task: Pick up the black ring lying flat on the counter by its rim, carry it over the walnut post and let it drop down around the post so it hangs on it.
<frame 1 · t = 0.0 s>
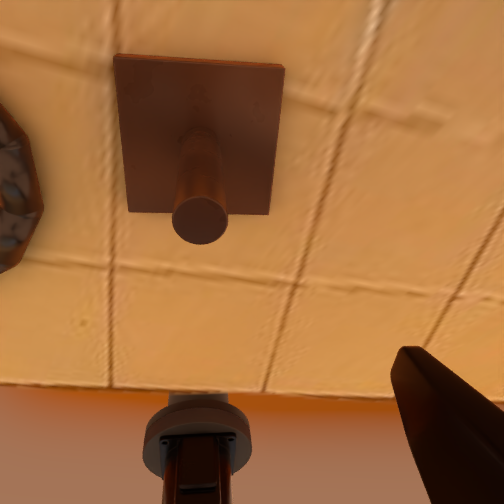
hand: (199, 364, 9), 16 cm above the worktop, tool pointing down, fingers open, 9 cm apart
post: (200, 139, 22), on the worktop
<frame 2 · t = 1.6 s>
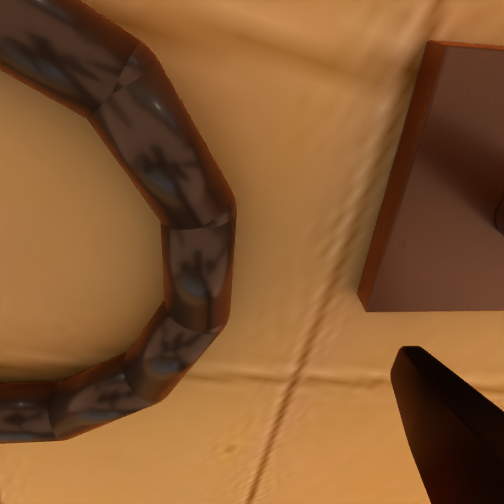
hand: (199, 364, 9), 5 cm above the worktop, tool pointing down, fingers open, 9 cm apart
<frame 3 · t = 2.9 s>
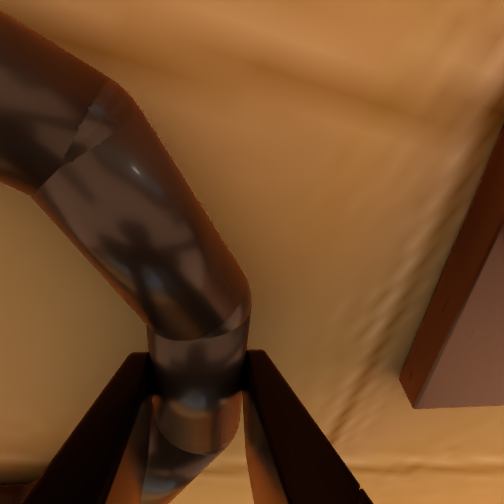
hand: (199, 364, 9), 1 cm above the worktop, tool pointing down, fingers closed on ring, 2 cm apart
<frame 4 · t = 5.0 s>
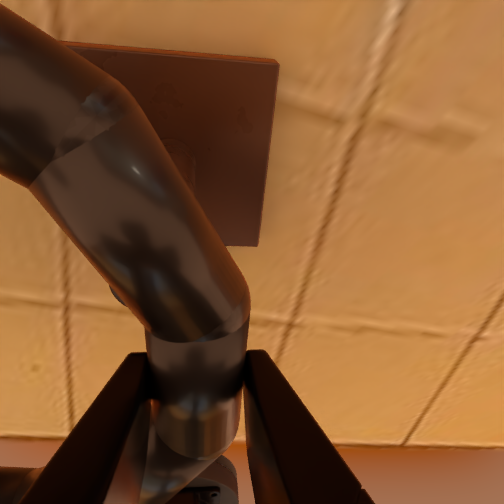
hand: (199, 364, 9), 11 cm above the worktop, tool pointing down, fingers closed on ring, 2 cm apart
post: (172, 153, 17), on the worktop
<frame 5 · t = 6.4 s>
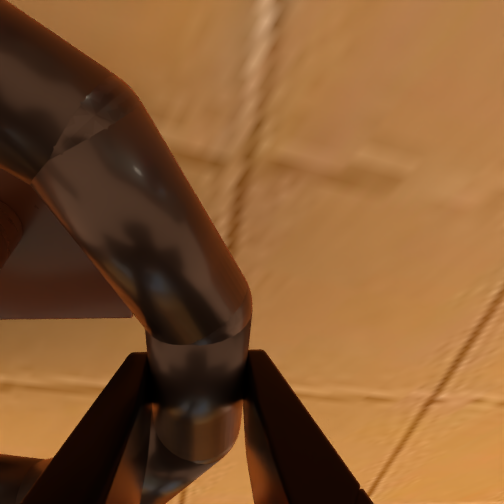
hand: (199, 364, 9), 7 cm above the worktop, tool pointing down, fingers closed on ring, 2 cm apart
post: (1, 208, 13), on the worktop
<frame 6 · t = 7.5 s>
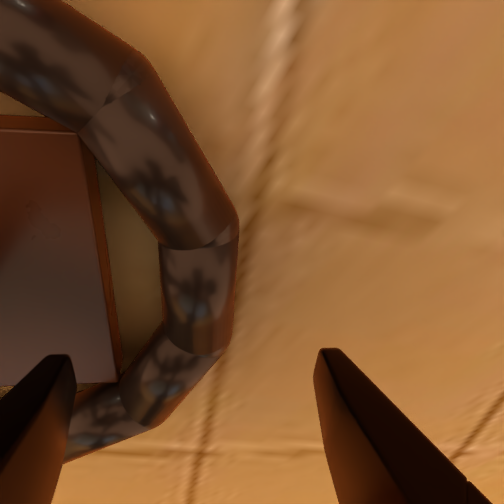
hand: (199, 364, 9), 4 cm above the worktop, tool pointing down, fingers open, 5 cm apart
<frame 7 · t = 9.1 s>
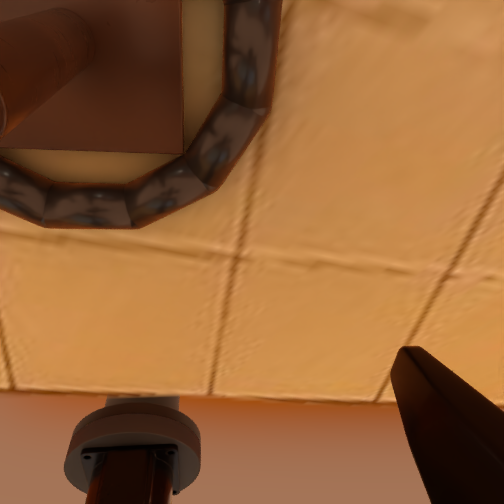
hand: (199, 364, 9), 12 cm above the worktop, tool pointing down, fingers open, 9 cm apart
post: (72, 37, 15), on the worktop
ring: (64, 40, 14), point 1 cm above the worktop
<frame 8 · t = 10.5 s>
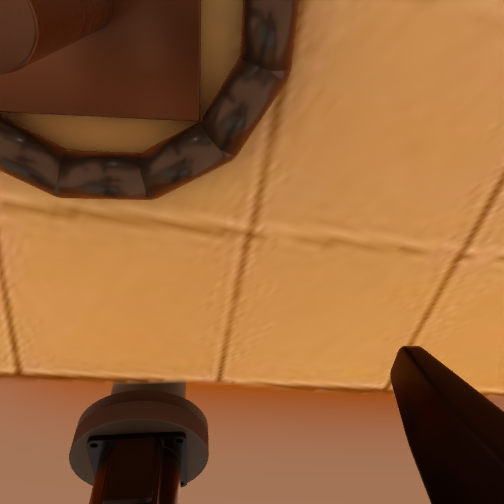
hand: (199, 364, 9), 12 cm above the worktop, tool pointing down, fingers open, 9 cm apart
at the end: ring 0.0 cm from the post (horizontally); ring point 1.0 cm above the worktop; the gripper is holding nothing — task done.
